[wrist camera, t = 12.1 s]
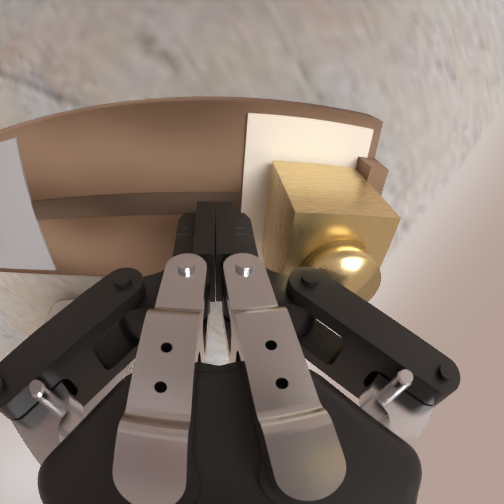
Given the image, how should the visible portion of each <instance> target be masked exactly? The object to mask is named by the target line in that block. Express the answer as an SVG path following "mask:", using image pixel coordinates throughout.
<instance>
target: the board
mask: <svg viewBox="0 0 504 504" xmlns="http://www.w3.org/2000/svg"><path fill="white" fill-rule="evenodd" d="M382 123H383V121H381V120H379V119H377V118H375V117H373V116H371V115H369V114H364V113H359V112H355V111H350V110H344V109H339V108H333V107H328V106H321V105H315V104H308V103H300V102H292V101H283V100H272V99H259V98H242V97H175V98H158V99H145V100H135V101H126V102H118V103H111V104H104V105H98V106H92V107H86V108H81V109H76V110H71V111H66V112H62V113H57V114H53V115H49V116H45V117H41V118H37V119H34V120H30V121H27V122H24V123H20V124H17V125H14V126H11V127H8V128H5V129H2V130H0V272H18V273H39V274H63V275H94V276H107V275H108V274H110V273H111V272H113V271H114V270H116V269H119V268H126V267H128V268H134V269H136V270H138V271H139V272H140V273H141V274H142V276H143V277H144V276H148V275H152V274H156V273H158V272H161V271H162V270H164V269H165V266H166V264H167V262H168V261H169V260H170V259H171V258H172V257H173V251H174V244H175V238H176V232H177V226H178V221H179V219H180V218H181V216H182V215H183V214H184V213H196V209H197V201H214V236H215V201H232V205H233V213H245V214H246V215H247V216H248V217H249V218H250V219H251V224H252V229H253V235H254V238H255V243H256V248H257V253H258V257H259V258H260V259H261V260H262V261H263V263H264V260H263V255H262V250H261V249H262V241H263V232H264V224H265V216H266V208H267V200H268V191H269V183H270V174H271V166H272V160H278V161H293V162H306V163H317V164H327V165H336V166H345V167H353V168H355V169H356V170H357V171H358V172H359V173H360V174H361V175H362V177H363V178H364V179H365V180H366V181H367V182H368V183H369V184H370V185H371V186H372V187H373V188H374V189H375V190H376V191H377V192H378V193H379V194H380V195H381V193H382V190H383V186H384V183H385V180H386V176H387V173H388V169H387V168H386V167H384V166H383V165H382V164H381V163H380V162H378V161H377V160H376V159H375V158H374V157H375V153H376V149H377V145H378V141H379V136H380V132H381V128H382Z"/></svg>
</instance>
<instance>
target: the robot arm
mask: <svg viewBox="0 0 504 504" xmlns="http://www.w3.org/2000/svg"><path fill="white" fill-rule="evenodd" d="M215 277H216V301H222V320H223V326H224V332H225V338H226V344H227V350H228V356H229V364H225V365H221V366H217V365H212V364H207V363H206V351H207V336H208V322H209V313H210V301H215ZM316 319H318V320H319V321H321V322H322V323H323V324H325V325H326V326H328V327H329V328H330V329H332V330H333V331H334V332H336V333H337V334H338V335H340V336H341V337H342V338H341V337H339V336H338V335H336V334H335V333H334V332H332V331H331V330H330V329H328V328H327V327H326V326H324V325H323V324H321V323H320V322H319V321H317V320H316ZM108 329H109V330H108ZM135 358H136V359H135ZM305 358H306V359H307V360H308V361H309V362H311V363H312V364H313V365H315V366H316V367H317V368H318V369H320V370H321V371H322V372H324V373H325V374H326V375H328V376H329V377H330V378H332V379H333V380H334V381H336V382H337V383H338V384H340V385H341V386H342V387H344V388H345V389H346V390H348V391H349V392H350V393H352V394H353V395H354V396H356V397H357V398H359V404H360V407H359V406H358V405H357V404H355V403H354V402H353V401H352V400H350V399H349V398H348V397H346V396H345V395H344V394H343V393H341V392H340V391H339V390H338V389H336V388H335V387H334V386H333V385H332V384H330V383H329V382H328V381H326V380H325V379H324V378H323V377H322V376H320V375H318V374H317V373H315V372H314V371H312V370H310V369H308V366H307V363H306V360H305ZM133 359H135V363H134V368H133V373H131V374H130V375H128V376H126V377H125V378H123V379H122V380H121V381H120V382H119V383H118V384H116V385H115V387H114V388H113V389H112V390H111V391H110V392H109V393H108V394H107V395H106V396H105V397H104V398H103V399H102V400H101V401H100V402H99V403H98V404H97V405H96V406H95V407H94V408H93V409H92V410H91V411H90V412H89V414H88V415H87V416H86V417H85V418H84V409H83V407H84V406H85V405H86V404H87V403H88V402H89V401H90V400H91V399H92V398H93V397H95V396H96V395H97V394H98V393H99V392H100V391H101V390H102V389H103V388H104V387H105V386H106V385H107V384H108V383H109V382H110V381H111V380H112V379H113V378H114V377H116V376H117V375H118V374H119V373H120V372H121V371H122V370H123V369H124V368H125V367H126V366H127V365H128V364H129V363H130V362H131V361H132V360H133ZM459 383H460V373H459V370H458V368H457V366H456V364H455V363H454V362H453V361H452V360H451V359H450V358H448V357H447V356H445V355H444V354H442V353H441V352H440V351H438V350H437V349H435V348H434V347H432V346H431V345H429V344H428V343H427V342H425V341H424V340H422V339H421V338H420V337H418V336H417V335H415V334H414V333H412V332H411V331H409V330H408V329H407V328H405V327H404V326H402V325H401V324H399V323H398V322H396V321H395V320H393V319H392V318H390V317H389V316H387V315H386V314H384V313H383V312H382V311H380V310H379V309H377V308H376V307H374V306H372V305H371V304H370V303H368V302H367V301H365V300H364V299H362V298H361V297H359V296H358V295H356V294H355V293H353V292H352V291H350V290H349V289H347V288H346V287H344V286H343V285H341V284H340V283H338V282H337V281H335V280H334V279H332V278H331V277H329V276H328V275H326V274H324V273H323V272H321V271H320V270H318V269H316V268H312V267H305V266H304V267H298V268H295V269H294V270H292V271H291V273H290V275H286V274H281V273H277V272H274V271H271V270H269V269H268V268H266V267H265V265H264V263H263V261H262V260H261V259H260V258H259V257H258V253H257V248H256V243H255V238H254V235H253V229H252V224H251V219H250V218H249V217H248V216H247V215H246V214H245V213H233V205H232V201H215V236H214V201H197V209H196V213H184V214H183V215H182V216H181V218H180V219H179V221H178V226H177V232H176V238H175V244H174V251H173V257H172V258H171V259H170V260H169V261H168V262H167V264H166V266H165V269H164V270H162V271H161V272H158V273H156V274H152V275H148V276H144V277H143V276H142V274H141V273H140V272H139V271H138V270H136V269H134V268H128V267H126V268H119V269H116V270H114V271H113V272H111V273H110V274H108V275H107V276H105V277H104V278H103V279H101V280H100V281H99V282H97V283H96V284H95V285H93V286H92V287H91V288H89V289H88V290H87V291H85V292H84V293H83V294H81V295H80V296H79V297H77V298H76V299H75V300H74V301H72V302H71V303H70V304H68V305H67V306H66V307H65V308H63V309H62V310H61V311H60V312H58V313H57V314H56V315H55V316H53V317H52V318H51V319H50V320H48V321H47V322H46V323H45V324H44V325H42V326H41V327H40V328H39V329H38V330H36V331H35V332H34V333H33V334H32V335H30V336H29V337H28V338H27V339H26V340H25V341H23V342H22V343H21V344H20V345H19V346H18V347H17V348H15V349H14V350H13V351H12V352H11V353H10V354H9V355H8V356H6V357H5V358H4V359H3V360H2V361H1V362H0V412H1V413H3V414H4V415H5V416H6V417H7V418H8V419H10V420H11V421H12V422H13V424H14V426H15V427H16V429H17V431H18V433H19V434H20V436H21V437H22V439H23V441H24V442H25V444H26V445H27V447H28V448H29V449H30V451H31V452H32V454H33V455H34V457H35V458H36V460H37V461H38V462H39V463H40V465H41V467H40V470H39V474H38V489H39V494H40V497H41V500H42V502H43V504H416V501H417V495H418V491H419V487H420V483H421V477H422V470H421V463H420V460H419V457H418V455H417V453H416V452H415V450H414V447H415V446H416V444H417V442H418V440H419V438H420V436H421V434H422V432H423V431H424V428H425V427H426V425H427V423H428V421H429V418H430V416H431V414H432V412H433V410H434V408H435V406H436V405H437V404H438V403H439V402H441V401H442V400H444V399H445V398H446V397H447V396H448V395H450V394H451V393H452V392H454V391H455V390H456V389H457V388H458V386H459Z"/></svg>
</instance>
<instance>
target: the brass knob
mask: <svg viewBox="0 0 504 504" xmlns="http://www.w3.org/2000/svg"><path fill="white" fill-rule="evenodd" d="M399 221H400V217H399V216H398V214H397V213H396V212H395V211H394V210H393V209H392V208H391V206H390V205H389V204H388V203H387V202H386V201H385V200H384V199H383V198H382V197H381V195H380V194H379V193H378V192H377V191H376V190H375V189H374V188H373V187H372V186H371V185H370V184H369V183H368V182H367V181H366V180H365V179H364V178H363V177H362V175H361V174H360V173H359V172H358V171H357V170H356V169H355V168H353V167H345V166H336V165H327V164H317V163H306V162H293V161H278V160H272V166H271V174H270V183H269V191H268V200H267V208H266V216H265V224H264V232H263V241H262V249H261V250H262V255H263V260H264V265H265V267H266V268H268V269H269V270H271V271H274V272H277V273H281V274H286V275H290V273H291V271H292V270H294V269H295V268H298V267H304V266H305V267H312V268H316V269H318V270H320V271H321V272H323V273H324V274H326V275H328V276H329V277H331V278H332V279H334V280H335V281H337V282H338V283H340V284H341V285H343V286H344V287H346V288H347V289H349V290H350V291H352V292H353V293H355V294H356V295H358V296H359V297H361V298H362V299H364V300H365V301H367V302H368V301H369V300H370V299H371V298H372V297H373V296H374V294H375V293H376V291H377V290H378V288H379V286H380V282H381V273H380V270H379V268H380V266H381V264H382V262H383V260H384V257H385V255H386V253H387V250H388V248H389V246H390V243H391V241H392V239H393V236H394V234H395V231H396V229H397V226H398V224H399Z"/></svg>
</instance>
